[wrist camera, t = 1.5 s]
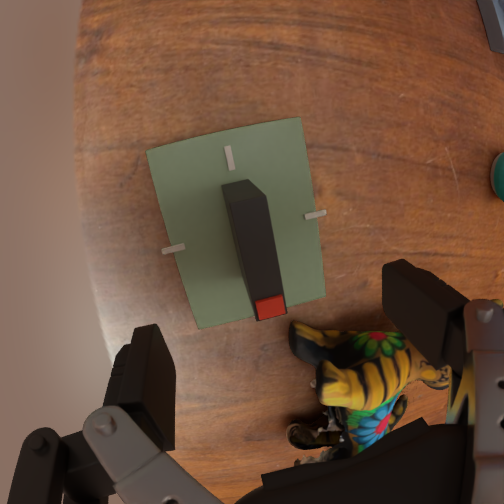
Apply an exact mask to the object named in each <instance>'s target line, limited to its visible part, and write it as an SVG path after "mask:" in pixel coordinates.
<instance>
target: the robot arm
mask: <svg viewBox="0 0 504 504" xmlns="http://www.w3.org/2000/svg"><path fill="white" fill-rule="evenodd" d="M382 305H383V309H384V312H385V314H386V316H387V317H388V318H389V320H390V321H391V322H392V323H393V324H394V325H395V326H396V327H397V328H398V329H399V330H400V331H401V332H402V333H403V335H404V336H405V337H406V338H407V339H408V340H409V341H410V342H411V343H412V344H413V345H414V346H415V348H416V349H417V350H418V351H419V352H420V353H421V354H422V355H423V356H424V358H425V359H426V360H427V361H428V362H429V363H430V364H431V365H432V366H433V368H434V369H435V370H436V371H437V370H439V369H441V368H443V367H445V366H447V365H449V366H450V367H451V370H450V373H449V390H448V406H447V417H446V422H445V424H436V425H430V426H428V425H427V423H426V422H425V420H424V419H423V418H422V417H421V418H419V419H417V420H415V421H413V422H411V423H408V424H406V425H404V426H402V427H400V428H398V429H396V430H393V431H391V432H389V433H387V434H386V435H384V436H383V437H381V438H380V439H379V440H377V441H376V442H374V443H373V444H372V445H370V446H369V447H367V448H366V449H364V450H363V451H361V452H360V453H358V454H357V455H355V456H353V457H351V458H348V459H342V460H334V461H325V462H316V463H305V464H301V465H297V466H294V467H290V468H286V469H282V470H278V471H274V472H270V473H266V474H262V475H261V478H262V482H263V486H261V487H258V488H256V489H254V490H253V491H251V492H249V493H248V494H246V495H245V496H243V497H242V498H240V499H239V500H238V501H237V502H236V503H234V504H504V308H501V307H500V305H498V304H497V303H495V302H493V301H491V300H487V299H475V300H472V301H470V300H469V299H467V298H466V297H465V296H463V295H462V294H460V293H459V292H458V291H456V290H455V289H454V288H452V287H451V286H449V285H447V284H446V283H445V282H444V281H442V280H441V279H440V280H439V278H438V277H437V276H435V275H434V274H433V273H431V272H429V271H426V270H423V269H420V268H416V267H415V266H413V265H412V264H410V263H409V262H408V261H406V260H405V259H399V260H396V261H393V262H390V263H387V264H384V265H383V268H382ZM113 367H114V368H112V372H111V377H110V379H109V383H108V387H107V391H106V394H105V399H104V403H103V406H102V407H101V408H99V409H97V410H95V411H94V412H92V413H91V414H90V415H89V416H88V417H87V419H86V420H85V422H84V424H83V430H82V431H79V432H76V433H73V434H70V435H67V436H64V437H60V436H59V435H58V434H57V433H56V432H55V431H54V430H53V429H51V428H47V427H44V428H39V429H37V430H35V431H33V432H32V433H31V434H29V435H28V437H26V439H25V440H24V442H23V445H22V448H21V451H20V455H19V458H18V462H17V465H16V469H15V473H14V476H13V480H12V485H11V489H10V493H9V498H8V502H7V504H61V501H62V494H63V493H64V499H63V504H108V496H109V495H112V494H116V493H117V494H118V495H119V497H120V498H121V499H122V501H123V502H124V503H125V504H224V503H223V502H222V501H220V500H219V499H218V498H217V497H215V496H214V495H213V494H212V493H211V492H209V491H208V490H207V489H206V488H205V487H203V486H202V485H201V484H200V483H199V482H198V481H197V480H195V479H194V478H193V477H192V476H191V475H190V474H189V473H188V472H187V471H185V470H184V469H183V468H182V467H181V466H180V465H179V464H178V463H177V462H176V461H175V460H174V459H173V458H172V457H171V456H170V455H169V454H167V453H166V452H165V451H173V450H175V392H176V370H175V365H174V362H173V359H172V356H171V354H170V352H169V350H168V347H167V345H166V343H165V340H164V338H163V336H162V333H161V331H160V329H159V327H158V325H157V324H151V325H146V326H142V327H137V328H135V329H134V332H133V336H132V340H131V344H126V345H124V346H123V347H122V348H121V350H120V351H119V352H118V354H117V355H116V357H115V361H114V365H113Z"/></svg>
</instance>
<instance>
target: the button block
mask: <svg viewBox="0 0 504 504" xmlns="http://www.w3.org/2000/svg"><path fill="white" fill-rule="evenodd" d="M477 2H478V5H479V8H480V12H481V15H482V18H483V22H484V25H485V29H486V33H487V37H488V41H489V45H490V49H491V51H495V52H499V53H503V54H504V0H477Z"/></svg>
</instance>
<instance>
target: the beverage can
mask: <svg viewBox="0 0 504 504" xmlns="http://www.w3.org/2000/svg"><path fill="white" fill-rule="evenodd" d="M490 179H491V185H492V188H493V191H494V192H495V194H496V195H497V196H498V197H499V198H500V199H501V200H502V201H503V202H504V152H503V153H500V154H499V155H498V156H497V157H496V158H495V159H494V161H493V164H492V167H491V174H490Z"/></svg>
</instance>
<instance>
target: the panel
mask: <svg viewBox="0 0 504 504" xmlns="http://www.w3.org/2000/svg"><path fill="white" fill-rule="evenodd" d="M145 152H146V156H147V160H148V164H149V168H150V172H151V176H152V179H153V183H154V187H155V191H156V195H157V198H158V202H159V206H160V209H161V213H162V216H163V220H164V223H165V227H166V230H167V234H168V237H169V240H170V244H171V246H170V247H166V248H162V249H161V250H162V253H163V255H165V254H169V253H173V254H174V257H175V260H176V263H177V266H178V270H179V273H180V276H181V279H182V282H183V285H184V288H185V291H186V294H187V297H188V300H189V303H190V306H191V309H192V312H193V315H194V318H195V321H196V324H197V327H198V329H199V330H200V329H204V328H208V327H212V326H217V325H221V324H225V323H229V322H233V321H237V320H241V319H245V318H249V317H253V316H255V315H254V312H253V309H252V306H251V303H250V300H249V297H248V294H247V290H246V287H245V284H244V281H243V278H242V273H241V269H240V265H239V261H238V256H237V252H236V248H235V244H234V239H233V235H232V231H231V226H230V222H229V218H228V213H227V209H226V205H225V200H224V196H223V191H222V187H221V185H224V184H228V183H233V182H237V181H241V180H246V179H249V180H250V181H251V182H252V183H253V184H254V185H255V186H257V187H258V188H259V189H260V190H261V191H262V192H263V193H264V194H265V195H266V196H267V201H268V206H269V212H270V217H271V222H272V228H273V233H274V239H275V244H276V250H277V255H278V261H279V266H280V272H281V277H282V283H283V289H284V295H285V300H286V306H287V307H291V306H294V305H298V304H301V303H305V302H309V301H312V300H316V299H319V298H322V297H326V291H325V281H324V272H323V263H322V254H321V246H320V238H319V230H318V222H317V217H321V216H325V215H327V214H326V209H323V210H319V211H316V208H315V201H314V194H313V187H312V181H311V174H310V168H309V162H308V156H307V150H306V144H305V139H304V133H303V128H302V122H301V117H294V118H287V119H281V120H275V121H269V122H264V123H258V124H253V125H248V126H243V127H238V128H233V129H228V130H223V131H219V132H214V133H210V134H206V135H201V136H197V137H193V138H189V139H185V140H181V141H177V142H174V143H170V144H166V145H162V146H159V147H155V148H152V149H149V150H146V151H145Z"/></svg>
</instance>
